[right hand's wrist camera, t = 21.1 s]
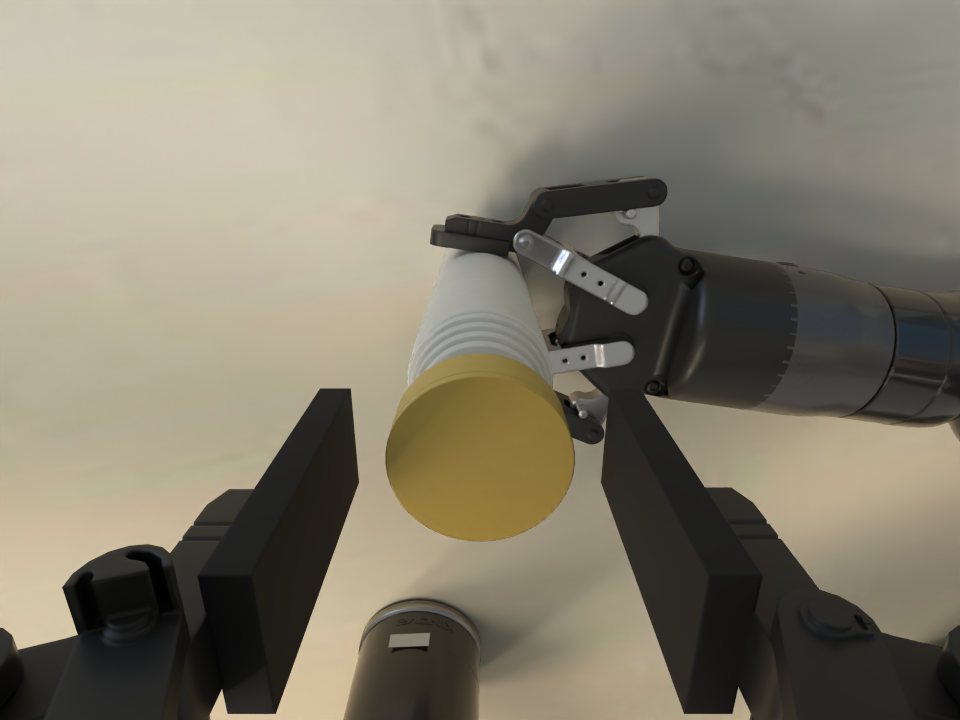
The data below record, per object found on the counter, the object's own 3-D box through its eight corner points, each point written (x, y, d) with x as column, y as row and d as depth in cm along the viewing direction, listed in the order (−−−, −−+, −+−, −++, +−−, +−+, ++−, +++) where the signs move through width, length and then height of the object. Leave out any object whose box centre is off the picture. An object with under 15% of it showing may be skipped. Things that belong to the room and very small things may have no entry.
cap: (370, 377, 14) (358, 404, 13) (544, 332, 14) (551, 354, 12) (424, 520, 16) (418, 558, 14) (581, 484, 15) (592, 519, 14)
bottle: (433, 293, 35) (366, 501, 14) (454, 219, 33) (412, 336, 13) (504, 315, 35) (538, 545, 15) (528, 243, 34) (602, 391, 13)
